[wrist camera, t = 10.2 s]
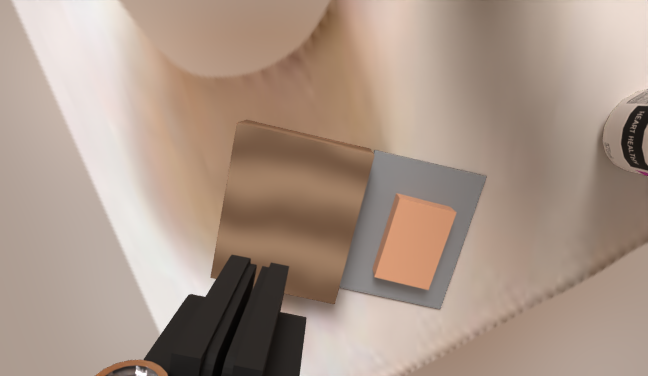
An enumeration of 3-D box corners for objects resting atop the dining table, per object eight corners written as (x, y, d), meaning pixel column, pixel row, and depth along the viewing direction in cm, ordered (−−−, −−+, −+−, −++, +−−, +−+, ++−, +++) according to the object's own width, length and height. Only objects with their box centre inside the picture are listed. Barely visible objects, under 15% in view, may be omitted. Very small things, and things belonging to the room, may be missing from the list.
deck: (246, 119, 37) (237, 122, 34) (370, 148, 38) (374, 154, 34) (221, 260, 41) (210, 277, 37) (334, 284, 42) (334, 304, 38)
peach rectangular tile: (456, 212, 37) (450, 206, 39) (399, 198, 37) (396, 193, 39) (428, 290, 39) (423, 280, 41) (374, 277, 39) (372, 268, 41)
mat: (374, 149, 38) (375, 150, 38) (485, 175, 38) (486, 176, 38) (338, 285, 42) (338, 287, 42) (439, 307, 42) (440, 309, 42)
